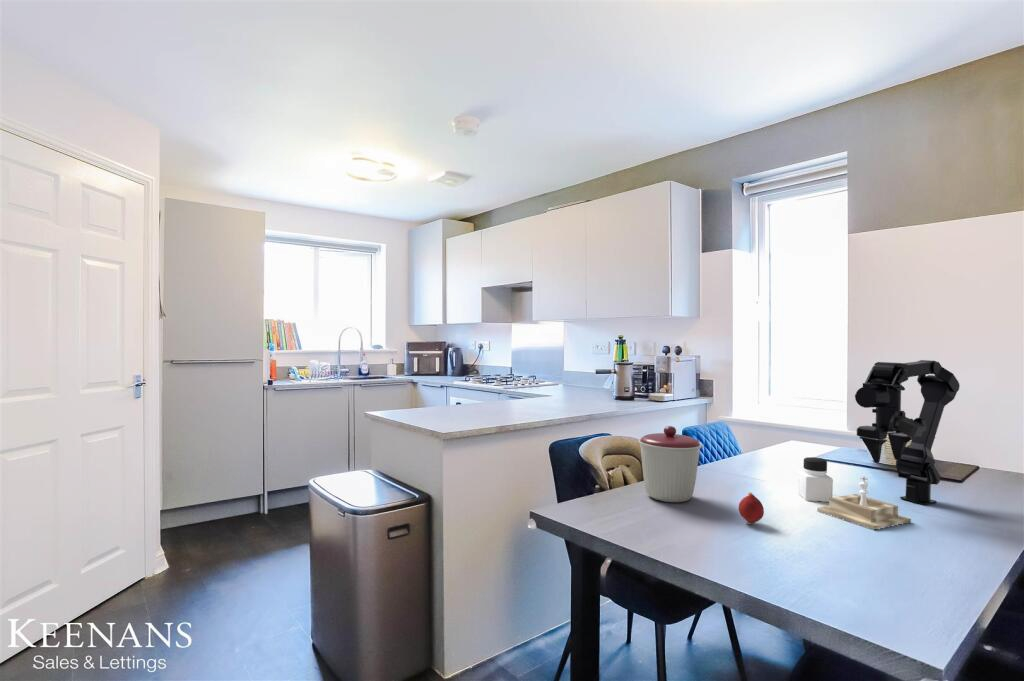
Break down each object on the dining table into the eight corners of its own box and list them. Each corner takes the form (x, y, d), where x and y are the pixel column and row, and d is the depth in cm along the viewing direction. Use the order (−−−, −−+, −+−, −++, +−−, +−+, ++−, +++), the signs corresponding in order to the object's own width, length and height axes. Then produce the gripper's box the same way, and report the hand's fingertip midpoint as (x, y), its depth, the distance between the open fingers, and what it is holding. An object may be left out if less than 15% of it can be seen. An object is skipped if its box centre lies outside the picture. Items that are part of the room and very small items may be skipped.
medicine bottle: (832, 502, 150) (833, 461, 149) (805, 501, 151) (806, 460, 151) (823, 495, 156) (823, 456, 156) (797, 493, 158) (798, 454, 158)
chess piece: (851, 508, 141) (851, 472, 141) (872, 511, 139) (873, 474, 139) (853, 514, 137) (854, 476, 137) (876, 517, 135) (876, 479, 135)
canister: (680, 512, 139) (681, 434, 139) (624, 495, 153) (626, 425, 153) (713, 499, 151) (714, 427, 151) (659, 485, 165) (660, 419, 165)
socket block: (853, 505, 148) (853, 491, 148) (910, 522, 134) (911, 507, 134) (817, 511, 142) (817, 496, 142) (874, 530, 128) (874, 514, 128)
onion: (761, 521, 133) (762, 490, 133) (765, 529, 127) (765, 497, 127) (737, 518, 135) (737, 488, 135) (739, 526, 129) (739, 494, 129)
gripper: (898, 411, 135) (897, 471, 135) (940, 408, 143) (939, 465, 143) (855, 406, 146) (854, 461, 146) (896, 403, 153) (895, 456, 153)
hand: (887, 461), depth 146 cm, fingers open, 9 cm apart
